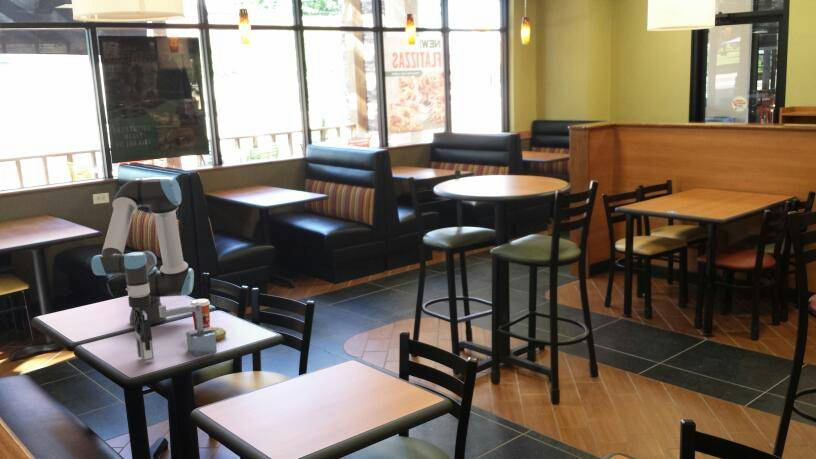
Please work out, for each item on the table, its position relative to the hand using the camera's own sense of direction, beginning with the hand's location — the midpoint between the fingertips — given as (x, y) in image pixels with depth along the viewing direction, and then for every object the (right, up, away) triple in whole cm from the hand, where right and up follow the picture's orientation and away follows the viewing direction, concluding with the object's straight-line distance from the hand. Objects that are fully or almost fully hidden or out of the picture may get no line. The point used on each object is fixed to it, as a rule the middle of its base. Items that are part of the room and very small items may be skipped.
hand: (145, 355), depth 271 cm
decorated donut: (+19, +2, +23) cm, 29 cm away
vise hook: (+14, 0, +6) cm, 16 cm away
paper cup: (+13, +3, +29) cm, 32 cm away
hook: (0, -1, 0) cm, 1 cm away
